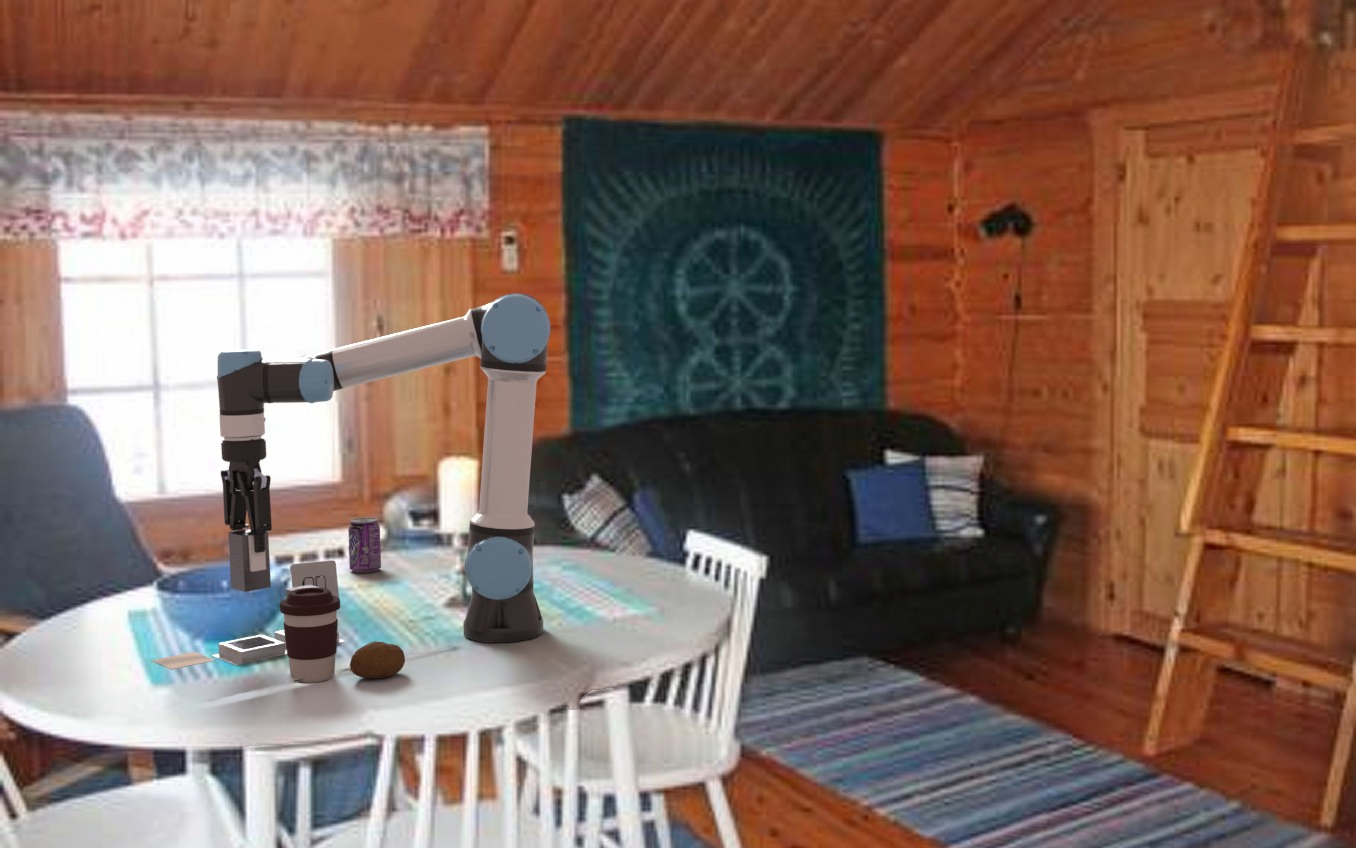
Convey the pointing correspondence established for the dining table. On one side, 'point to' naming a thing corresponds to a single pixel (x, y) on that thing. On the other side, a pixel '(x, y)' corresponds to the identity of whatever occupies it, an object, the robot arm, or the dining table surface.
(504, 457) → the robot arm
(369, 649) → the potato
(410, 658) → the dining table surface
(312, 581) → the electrical switch
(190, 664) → the walnut pad
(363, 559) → the beverage can
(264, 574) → the block
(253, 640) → the white recessed tray
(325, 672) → the coffee cup
